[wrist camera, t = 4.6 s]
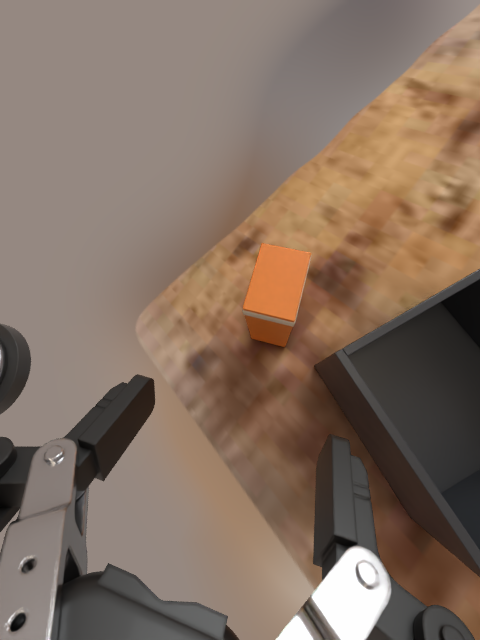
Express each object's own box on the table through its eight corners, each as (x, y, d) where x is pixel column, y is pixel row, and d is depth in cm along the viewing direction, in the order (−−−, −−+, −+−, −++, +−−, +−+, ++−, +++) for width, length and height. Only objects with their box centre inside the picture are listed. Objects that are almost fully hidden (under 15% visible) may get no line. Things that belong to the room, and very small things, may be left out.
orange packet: (285, 348, 27) (295, 322, 17) (250, 338, 28) (241, 309, 18) (297, 300, 28) (312, 252, 19) (263, 292, 29) (261, 241, 19)
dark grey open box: (410, 518, 22) (492, 589, 14) (313, 365, 26) (334, 353, 18) (552, 429, 23) (708, 448, 15) (437, 294, 27) (511, 250, 19)
